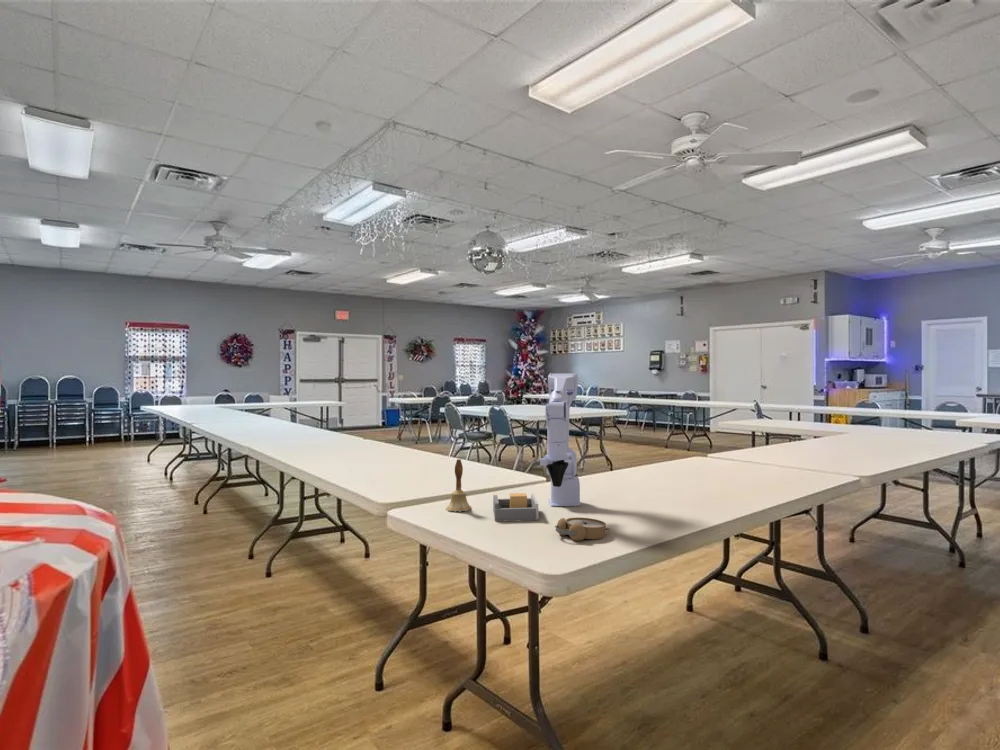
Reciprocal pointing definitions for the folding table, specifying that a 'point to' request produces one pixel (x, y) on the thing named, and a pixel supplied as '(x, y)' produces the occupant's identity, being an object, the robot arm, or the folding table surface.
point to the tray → (530, 505)
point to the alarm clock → (581, 528)
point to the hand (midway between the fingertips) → (557, 486)
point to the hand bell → (458, 492)
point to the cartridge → (518, 500)
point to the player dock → (511, 511)
